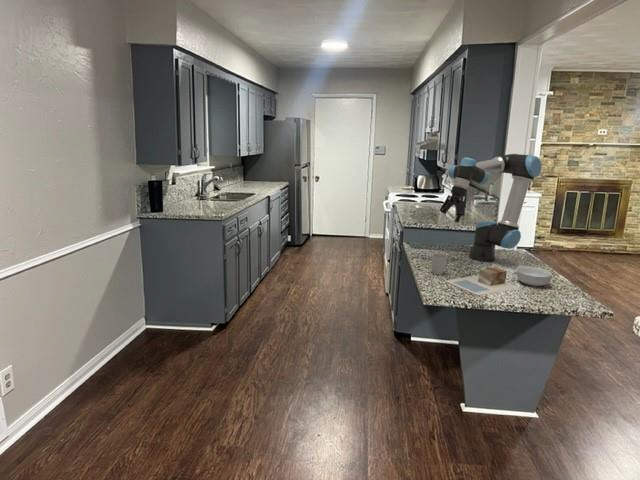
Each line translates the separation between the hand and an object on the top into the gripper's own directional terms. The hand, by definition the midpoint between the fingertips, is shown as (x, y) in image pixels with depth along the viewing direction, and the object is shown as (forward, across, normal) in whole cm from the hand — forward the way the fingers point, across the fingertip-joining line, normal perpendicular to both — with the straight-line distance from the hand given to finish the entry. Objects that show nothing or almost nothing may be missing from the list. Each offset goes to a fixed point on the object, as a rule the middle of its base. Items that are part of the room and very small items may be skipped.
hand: (446, 226), depth 234 cm
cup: (+25, -2, +6) cm, 26 cm away
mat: (+23, +17, +20) cm, 34 cm away
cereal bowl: (+15, +18, +47) cm, 53 cm away
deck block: (+20, +15, +26) cm, 36 cm away
